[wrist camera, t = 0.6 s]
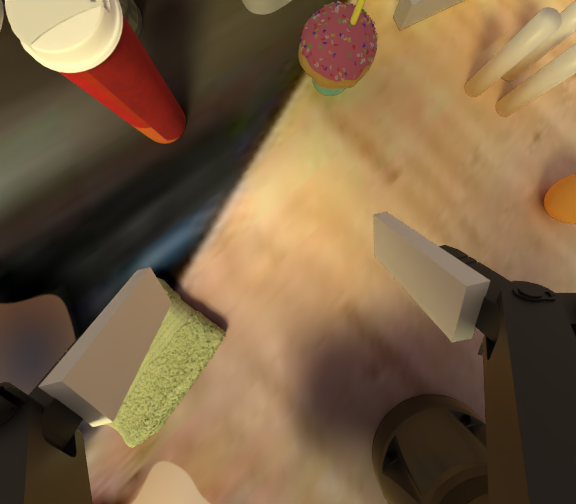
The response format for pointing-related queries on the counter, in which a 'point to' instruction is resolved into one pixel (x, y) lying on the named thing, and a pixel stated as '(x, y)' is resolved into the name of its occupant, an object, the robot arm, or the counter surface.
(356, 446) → the counter surface
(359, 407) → the counter surface
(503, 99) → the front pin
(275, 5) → the lumpy-topped squat cylinder
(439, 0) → the white long bar
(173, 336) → the washcloth
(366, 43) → the cupcake
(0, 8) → the honey pot
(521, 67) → the pin
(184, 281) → the counter surface
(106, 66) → the paper cup
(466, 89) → the pin
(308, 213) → the counter surface
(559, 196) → the ball
